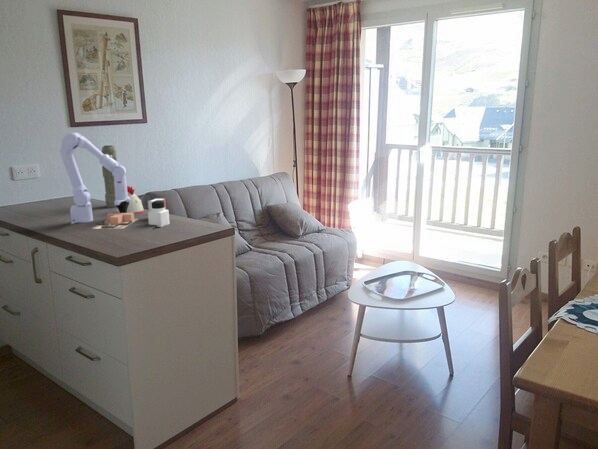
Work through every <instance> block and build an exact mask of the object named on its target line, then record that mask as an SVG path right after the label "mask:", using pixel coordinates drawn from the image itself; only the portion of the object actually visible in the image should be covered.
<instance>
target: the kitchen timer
mask: <svg viewBox="0 0 598 449" xmlns="http://www.w3.org/2000/svg"><path fill="white" fill-rule="evenodd" d="M127 193H128V196H129V198H130V200H127V201H126V202H129V205H128V208H127V213H134V215H135V214H140V213H141V214H143V213H144V206H143V201H142V199H141V198H140V197H139V196H138V195H136V193H135V188H133V186H130V185H129V186H128V185H127ZM116 213H120V212H119V210H118V208H117V207H116Z"/></svg>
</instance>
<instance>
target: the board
mask: <svg viewBox="0 0 598 449" xmlns="http://www.w3.org/2000/svg"><path fill="white" fill-rule="evenodd" d="M138 220H139V218H134V220H133V221H130V222H122V223H118V224H110V222H107V219H106V220H102V221H100V222H99V223H97V225H95V226H94V227H92V228H91V230H97V229H98V230H100V229H101V230H103V229H104V230H105V229H108V230H112V229H114V230H117V229H119V230H121V229H125V228H126V227H128V226H130V225H132V224H133V223H134V222H136V221H138Z"/></svg>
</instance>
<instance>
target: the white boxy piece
mask: <svg viewBox="0 0 598 449" xmlns="http://www.w3.org/2000/svg"><path fill="white" fill-rule="evenodd" d="M155 200H162V201H164V206H165V209H164V210H167V205H166V198H154V199H151V200H147V204H148V205H147V206H148V212H149V211H152V208H151V202H152V201H155Z"/></svg>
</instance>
